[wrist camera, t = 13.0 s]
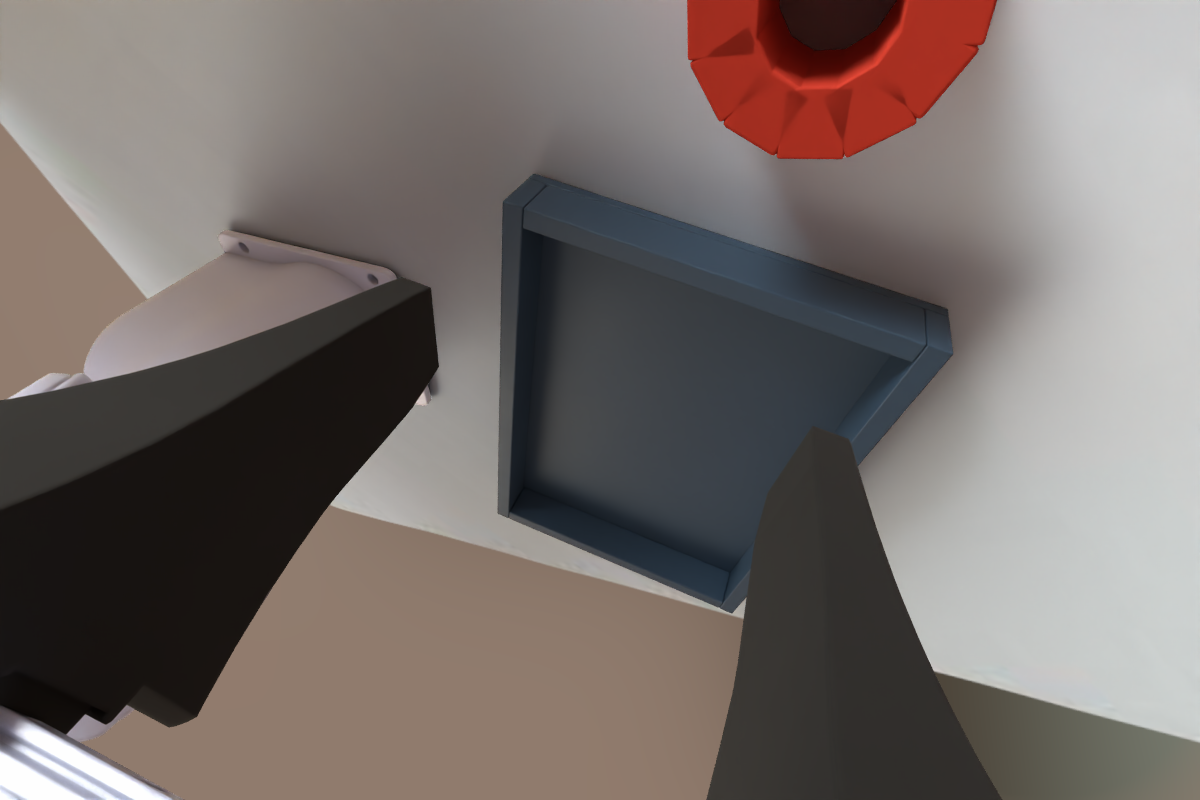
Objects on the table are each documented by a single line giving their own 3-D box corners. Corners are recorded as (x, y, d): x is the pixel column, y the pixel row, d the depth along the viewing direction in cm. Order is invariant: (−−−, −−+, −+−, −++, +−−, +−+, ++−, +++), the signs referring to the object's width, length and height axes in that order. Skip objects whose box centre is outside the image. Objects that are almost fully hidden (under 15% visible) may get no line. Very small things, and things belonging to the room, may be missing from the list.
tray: (515, 483, 31) (497, 513, 30) (533, 172, 18) (501, 200, 17) (740, 576, 30) (732, 614, 28) (948, 308, 16) (954, 354, 15)
